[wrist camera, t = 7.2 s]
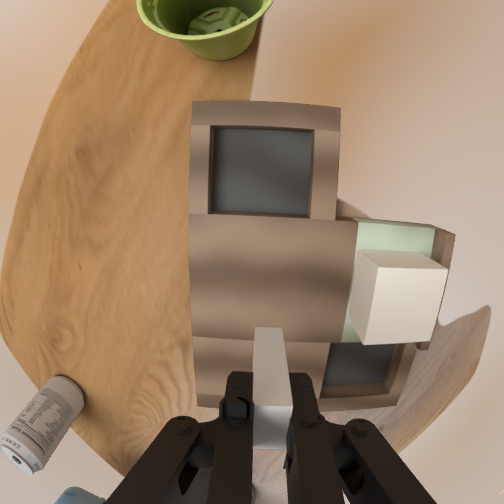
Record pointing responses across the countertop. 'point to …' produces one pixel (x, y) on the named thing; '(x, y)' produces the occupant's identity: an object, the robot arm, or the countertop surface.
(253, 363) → the robot arm
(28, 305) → the countertop surface
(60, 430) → the energy drink can
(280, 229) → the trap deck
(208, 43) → the plant pot
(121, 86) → the countertop surface
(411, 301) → the block
